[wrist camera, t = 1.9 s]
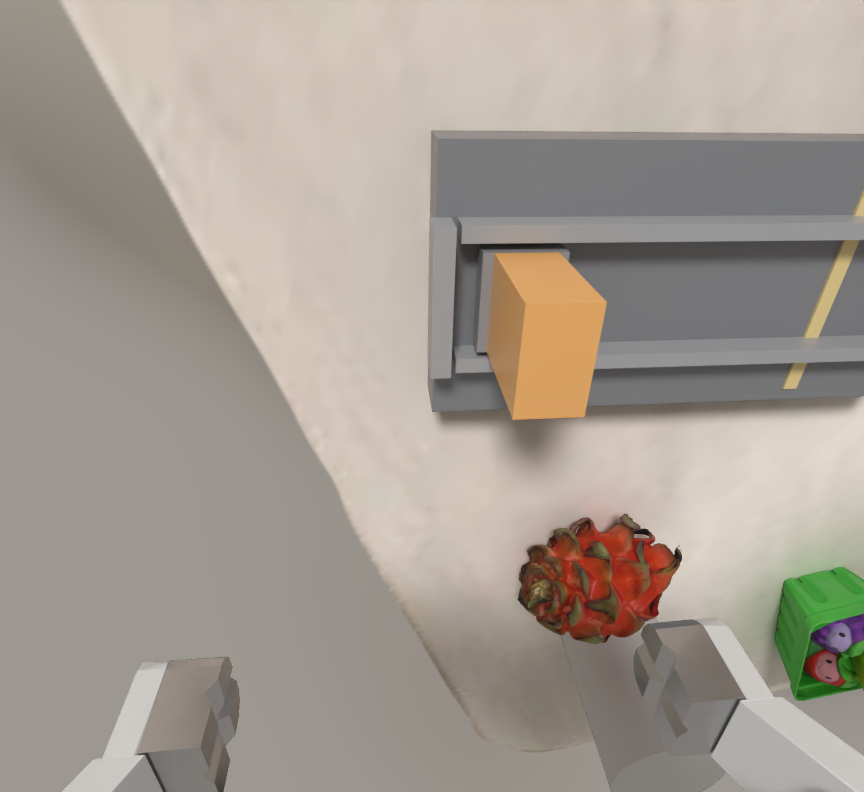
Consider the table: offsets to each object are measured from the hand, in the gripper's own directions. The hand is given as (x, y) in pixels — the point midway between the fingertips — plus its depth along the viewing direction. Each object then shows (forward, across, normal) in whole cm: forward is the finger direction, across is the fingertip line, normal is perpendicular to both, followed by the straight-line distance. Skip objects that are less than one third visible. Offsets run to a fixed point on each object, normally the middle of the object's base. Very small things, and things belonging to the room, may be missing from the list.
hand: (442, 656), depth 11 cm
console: (+22, -16, 0) cm, 27 cm away
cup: (+23, -18, +32) cm, 43 cm away
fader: (+19, -6, 0) cm, 20 cm away
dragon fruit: (+23, -14, +21) cm, 33 cm away
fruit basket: (+23, -37, +31) cm, 53 cm away
